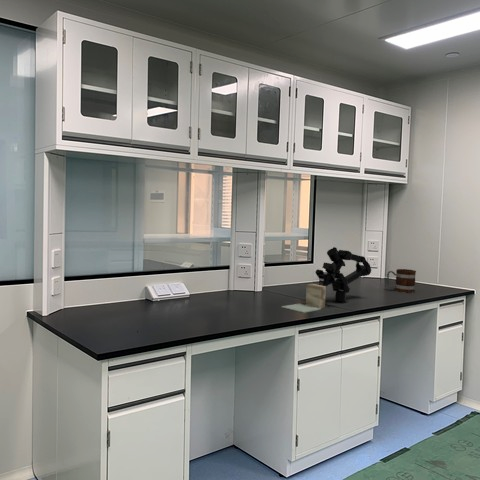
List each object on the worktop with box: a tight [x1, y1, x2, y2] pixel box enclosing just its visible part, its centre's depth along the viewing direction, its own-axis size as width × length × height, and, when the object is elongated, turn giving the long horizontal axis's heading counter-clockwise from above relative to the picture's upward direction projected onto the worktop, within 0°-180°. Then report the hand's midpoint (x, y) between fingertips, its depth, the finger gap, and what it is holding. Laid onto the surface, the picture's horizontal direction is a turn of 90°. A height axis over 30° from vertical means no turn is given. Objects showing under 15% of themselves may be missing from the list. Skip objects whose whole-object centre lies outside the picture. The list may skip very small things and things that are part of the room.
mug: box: [386, 268, 417, 294], centre depth 333 cm, size 20×14×15 cm
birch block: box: [305, 283, 327, 309], centre depth 270 cm, size 5×10×12 cm, turn 42°
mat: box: [281, 303, 322, 314], centre depth 263 cm, size 15×16×1 cm
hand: (323, 286), depth 274 cm, fingers closed
